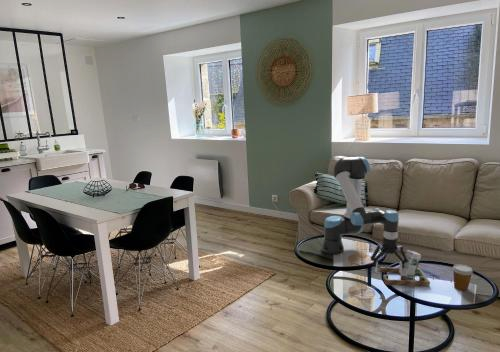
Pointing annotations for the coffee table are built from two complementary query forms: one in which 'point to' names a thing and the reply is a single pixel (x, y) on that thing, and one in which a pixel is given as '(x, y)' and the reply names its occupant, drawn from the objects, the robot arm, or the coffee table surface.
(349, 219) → the robot arm
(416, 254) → the syrup box
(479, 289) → the coffee table surface
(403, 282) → the wooden tray
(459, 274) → the disposable coffee cup
